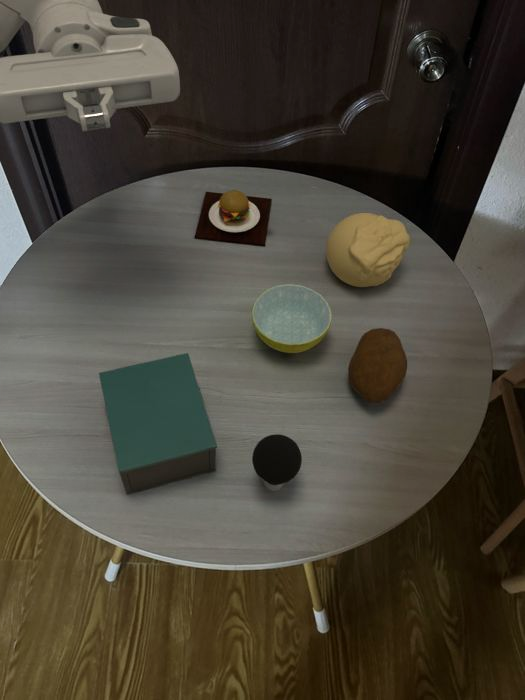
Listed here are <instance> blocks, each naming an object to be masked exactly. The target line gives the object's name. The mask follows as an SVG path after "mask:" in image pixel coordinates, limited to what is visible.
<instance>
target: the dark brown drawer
mask: <svg viewBox="0 0 525 700" xmlns="http://www.w3.org/2000/svg"><path fill="white" fill-rule="evenodd" d="M216 449H217V448H215V449H211V450H207V451H203V452H199V453H196V454H192V455H188V456H184V457H180V458H177V459H173V460H169V461H165V462H161V463H158V464H154V465H150V466H146V467H142V468H139V469H135V470H131V471H127V472H123V473H119V475H120V479H121V482H122V486H123V489H124V492H125V495H130V494H135V493H138V492H142V491H146V490H149V489H153V488H156V487H161V486H164V485H167V484H168V485H169V484H172V483H175V482H179V481H182V480H186V479H190V478H193V477H197V476H200V475H204V474H209V473H212V472H215V471H217V455H216V452H217V451H216Z"/></svg>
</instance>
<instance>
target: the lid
mask: <svg viewBox="0 0 525 700" xmlns="http://www.w3.org/2000/svg"><path fill="white" fill-rule="evenodd" d="M98 377H99V382H100V386H101V387H100V388H101V392H102V396H103V400H104V406H105V411H106V415H107V422H108V425H109V431H110V435H111V440H112V441H111V442H112V445H113V450H114V455H115V460H116V461H115V462H116V465H117V470H118V474H120V473H123V472H127V471H131V470H135V469H139V468H142V467H146V466H150V465H154V464H158V463H161V462H165V461H169V460H173V459H177V458H180V457H184V456H188V455H192V454H196V453H199V452H203V451H207V450H211V449H215V448H216V449H217V447H218V446H217V442H216V439H215V436H214V435H215V434H214V432H213V429H212V426H211V422H210V420H209V417H208V412H207V410H206V407H205V404H204V400H203V397H202V393H201V391H200V388H199V384H198V380H197V377H196V374H195V371H194V367H193V365H192V361H191V358H190V355H189V353H188V352H186V353H182V354H177V355H173V356H168V357H164V358H160V359H155V360H150V361H146V362H142V363H137V364H131V365H128V366H123V367H119V368H115V369H110V370H105V371H101V372H99V373H98Z"/></svg>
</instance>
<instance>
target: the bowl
mask: <svg viewBox="0 0 525 700" xmlns="http://www.w3.org/2000/svg"><path fill="white" fill-rule="evenodd" d="M251 320H252V324H253V327H254V329H255V332H256V334H257V335H258V337H259V338H260V340H261V341H262V342H263V343H264V344H266V346H268V347H270V348H271V349H274V350H276V351H278V352H281V353H285V354H297V353H303V352H305V351H308V350H310V349H312V348H313V347H315V346H316V345H318V344H319V343H320V342H321V341H322V340H323V339H324V338H325V336H326V334H327V333H328V330H329V328H330V327H331V324H332V309H331V307H330V305H329V303H328V301H327V299H325V298H324V296H323V295H321V294H320V293H318V292H317V291H315V289H312V288H311V287H308V286H304V285H301V284H294V283H285V284H279V285H275V286H271V287H269V288H268V289H265V291H263V292H262V293H261V294H260V295H259V296H258V297H257V298H256V300H254V303H253V305H252V309H251Z"/></svg>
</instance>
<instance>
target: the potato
mask: <svg viewBox="0 0 525 700" xmlns="http://www.w3.org/2000/svg"><path fill="white" fill-rule="evenodd" d="M348 363H349V364H348V368H347V371H348V372H347V373H348V374H347V375H348V381H349V384H350V386H351V388H352V389H353V390H354V392H355V393H357V395H358V396H360V398H362V399H363V400H364V401H365V402H368V403H370V404H380V403H382V402H384V401H387V400H388V398H390V396H392V395H393V394H394V393H395V391H397V389H398V388H399V387H400V385H401V384H402V382H403V381H404V379H405V377H406V375H407V370H408V359H407V355H406V351H405V350H404V347H403V344H402V341H401V339H400V337H399V336H398V334H397V333H396V331H394V330H391V329H390V328H384V327H377V328H371V329H369V330H368V331H366V332H364V334H363V335H362V336H361V337H360V339H359V340H358V343H357V345H356V348H355V349H354V352H353V354H352V356H351V358H350V360H349V362H348Z"/></svg>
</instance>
